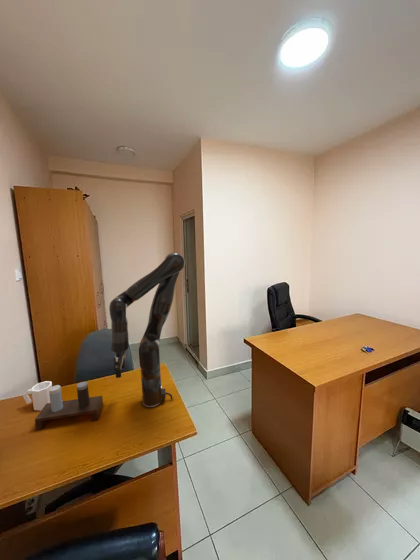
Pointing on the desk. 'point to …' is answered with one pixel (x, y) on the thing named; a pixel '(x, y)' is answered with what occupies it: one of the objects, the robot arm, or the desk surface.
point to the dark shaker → (83, 394)
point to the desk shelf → (69, 410)
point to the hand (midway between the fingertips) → (120, 372)
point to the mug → (39, 395)
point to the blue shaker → (56, 398)
